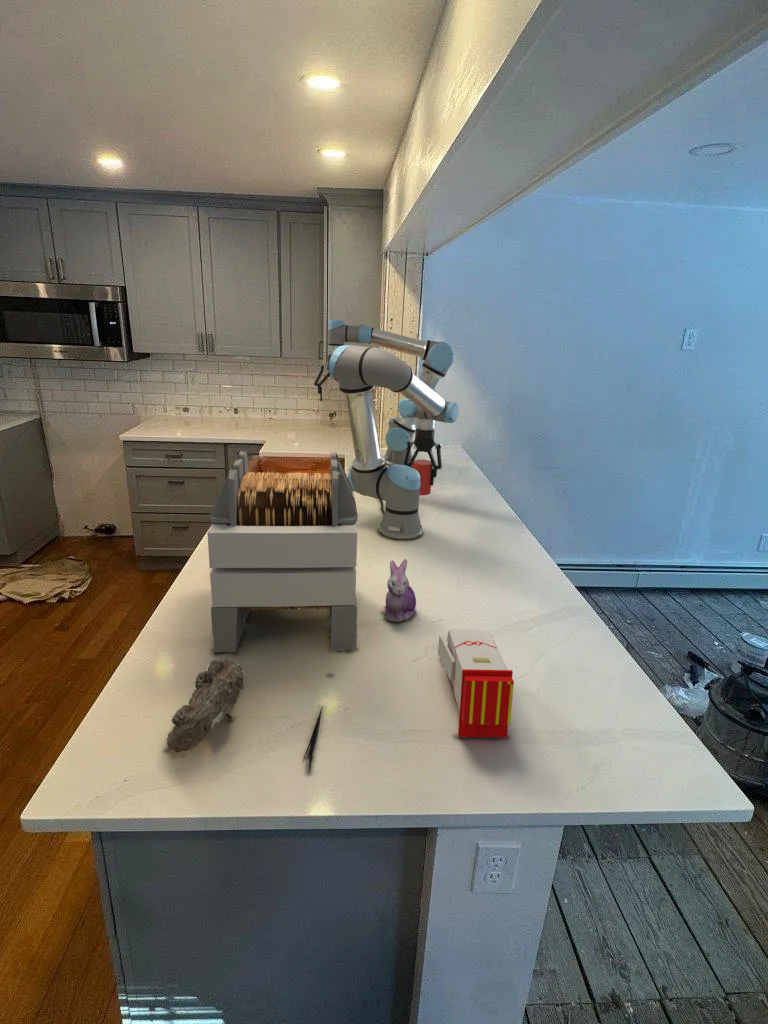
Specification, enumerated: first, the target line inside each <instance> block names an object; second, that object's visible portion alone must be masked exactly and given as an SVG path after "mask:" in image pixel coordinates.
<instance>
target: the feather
mask: <svg viewBox="0 0 768 1024" xmlns="http://www.w3.org/2000/svg"><path fill="white" fill-rule="evenodd" d="M329 675H330V676H331V675H332V674H331V673H330V674H329ZM322 710H323V707H321V708H320V710H319V713H318V716H317V719H316V723H315V725H314V728H313V731H312V733H311V737H310V739H309V742H308V745H307V748H306V751H305V754H304V757H303V760H302V763H301V767H302V765H303V763H304V761H305V758H308V759H309V760H308V762H307V763H308V764H307V766H308V771H310V770H311V766H312V765H311V764H312V760H313V757H315V756H314V755H315V751H316V749H315V746H317V739H318V733H319V729H320V722H321V717H322V712H323V711H322ZM313 754H314V755H313ZM306 755H307V757H306Z"/></svg>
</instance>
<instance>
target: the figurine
mask: <svg viewBox="0 0 768 1024" xmlns="http://www.w3.org/2000/svg"><path fill="white" fill-rule="evenodd" d="M407 567H408V559H406V558H404V559H403V560H402V561H401V563H400V565H399V566H398V565H397V563H396V562H395V561H394V560H393V559H391V560H390V561H389V570H390V576H389V578H388V579H387V589H388V591H387V592H386V594H385V595H386V596H385V607H384V615H385V616H386V620H387V621H391V622H395V623H400V622H402V621H406V620H409V619H410V618H411V617H413V616H414V615H415V610H416V606H417V597H416V593H415V591H414V590H413V587H411V586H410V582H409V579H408V577H407V574H406V571H407Z"/></svg>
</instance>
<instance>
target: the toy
mask: <svg viewBox="0 0 768 1024" xmlns="http://www.w3.org/2000/svg"><path fill="white" fill-rule="evenodd" d="M446 640H447V643H446V641H445V639H444V636H443V635H442V634H439V637H438V646H437V656H438V657H439V659H440V661H441V663H442V666H443V668H444V670H445V672H446V674H447V677H448V679H449V681H450V684H451V687H452V690H453V693H454V697H455V701H456V705H457V708H458V711H459V714H458V715H459V716H458V730H457V731H458V732H457V737H458V738H508V731H509V726H510V725H511V717H512V707H513V697H514V696H513V695H514V684H515V680H514V679H513V673H514V671H513V670H512V669H508V667H507V665H506V662H505V661H504V659H503V658H502V655H501V653H500V651H499V649H498V647H497V643H496V639H495V637H494V635H493V634H491V632H490V631H489V629H467V628H466V629H465V628H463V629H461V628H460V629H459V628H448V630H447V639H446Z"/></svg>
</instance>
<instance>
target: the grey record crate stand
mask: <svg viewBox="0 0 768 1024" xmlns="http://www.w3.org/2000/svg"><path fill="white" fill-rule="evenodd" d="M329 465H330V466H329V467H330V469H329V470H330V472H324V473H321V472H313V474H309V473H308V472H286V473H285V472H284V473H283V472H274V471H273V472H269V471H266V472H264V471H263V472H260V471H259V472H258V471H257V472H255V471H249V459H248V451H242V450H240V451H239V453H238V455H237V457H236V458H235V460H234V463H233V465H232V467H231V468H230V469H229V471H228V473H227V475H226V477H225V480H224V482H223V484H222V487H221V489H220V491H219V493H218V496H217V498H216V500H215V502H214V504H213V507H212V508H211V511H210V514H209V519H210V523H211V525H210V527H209V529H208V531H207V532H206V534H207V548H208V562H209V563H208V565H209V569H211V570H210V573H209V575H210V576H209V577H210V590H211V591H210V592H211V593H210V594H211V606H210V617H211V633H212V637H213V638H212V639H213V649H212V652H213V653H214V654H215V653H216V654H220V653H236V652H237V649H238V647H239V645H240V642H241V639H242V637H243V635H244V632H245V625H246V624H245V621H247V619H248V615H249V611H268V610H270V611H273V610H274V611H275V610H277V611H278V610H279V611H280V610H284V611H286V610H290V611H291V610H294V611H295V610H325V609H326V610H329V619H330V621H329V622H330V623H329V625H330V626H329V627H330V628H329V629H330V650H331V651H351V652H353V651H354V650H355V649H357V638H358V635H357V631H358V602H357V601H358V600H357V593H356V590H357V589H356V588H357V569H356V568H357V555H358V553H357V551H358V529H357V522H358V519H359V513H358V507H357V502H356V497H355V493H354V492H355V491H354V490H353V488H352V486H351V484H350V482H349V480H348V474H347V473H346V471H345V469H344V466H343V464H342V461H341V460H340V458H339V456H338V453H337V452H333V451H330V463H329Z"/></svg>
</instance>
